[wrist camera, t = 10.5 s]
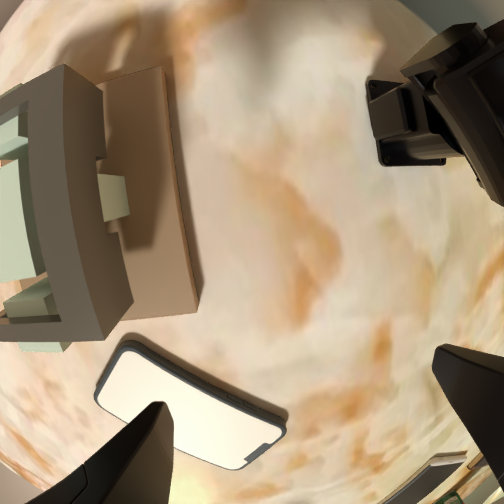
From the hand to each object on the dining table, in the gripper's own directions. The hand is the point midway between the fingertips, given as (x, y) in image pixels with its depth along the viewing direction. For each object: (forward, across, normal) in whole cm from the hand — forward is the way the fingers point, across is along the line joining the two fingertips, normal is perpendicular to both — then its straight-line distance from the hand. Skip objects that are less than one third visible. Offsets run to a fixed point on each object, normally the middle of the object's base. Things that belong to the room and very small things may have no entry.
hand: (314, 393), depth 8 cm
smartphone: (+13, -20, +48) cm, 53 cm away
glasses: (+8, +12, -7) cm, 16 cm away
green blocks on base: (+12, +12, -7) cm, 18 cm away
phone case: (+13, +8, +12) cm, 19 cm away
